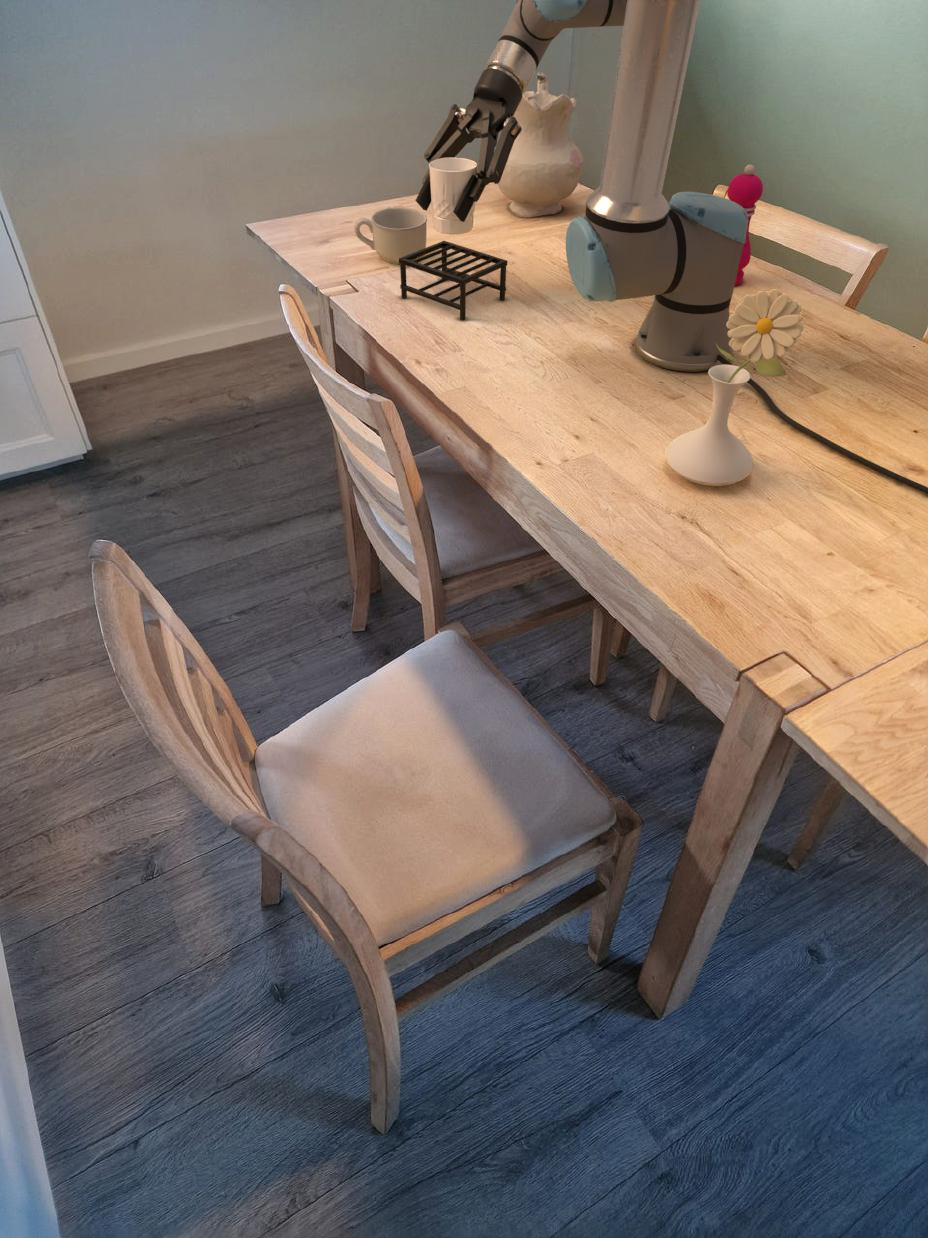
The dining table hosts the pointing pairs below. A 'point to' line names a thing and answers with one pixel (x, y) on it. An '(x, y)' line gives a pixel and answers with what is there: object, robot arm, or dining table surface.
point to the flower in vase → (737, 388)
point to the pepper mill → (745, 207)
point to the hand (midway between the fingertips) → (439, 210)
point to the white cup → (450, 193)
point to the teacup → (395, 232)
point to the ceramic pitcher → (542, 154)
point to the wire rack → (452, 273)
